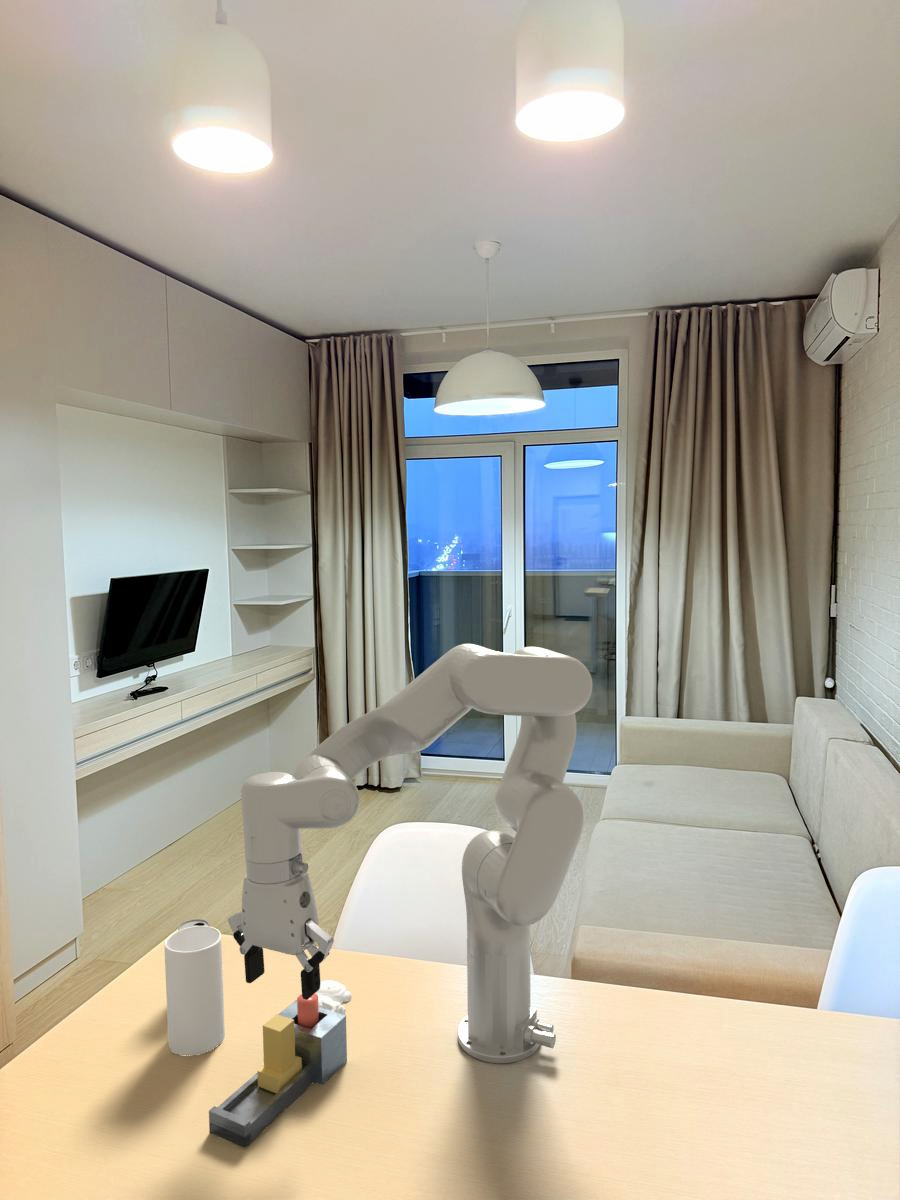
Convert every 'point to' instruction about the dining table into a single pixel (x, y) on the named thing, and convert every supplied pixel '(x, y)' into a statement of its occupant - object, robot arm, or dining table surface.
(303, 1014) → the button
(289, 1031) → the block
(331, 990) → the astronaut figurine
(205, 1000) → the cup
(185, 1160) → the dining table surface
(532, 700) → the robot arm
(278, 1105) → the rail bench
